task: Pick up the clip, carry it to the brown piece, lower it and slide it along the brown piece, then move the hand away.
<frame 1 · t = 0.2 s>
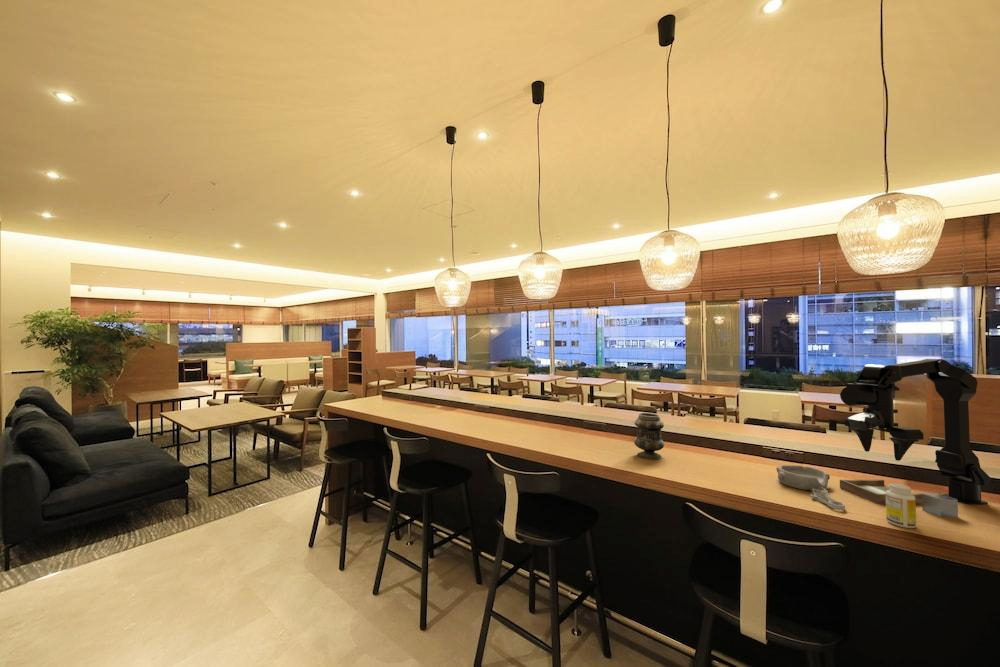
hand: (881, 455, 116), 14 cm above the table, fingers open, 9 cm apart
clip: (939, 513, 107), on the table
apothecary jar: (649, 456, 161), on the table
bracket: (826, 501, 116), on the table, touching dish
supplement bottle: (901, 524, 101), on the table
dish: (801, 485, 129), on the table, touching bracket
brown piece: (879, 495, 120), on the table
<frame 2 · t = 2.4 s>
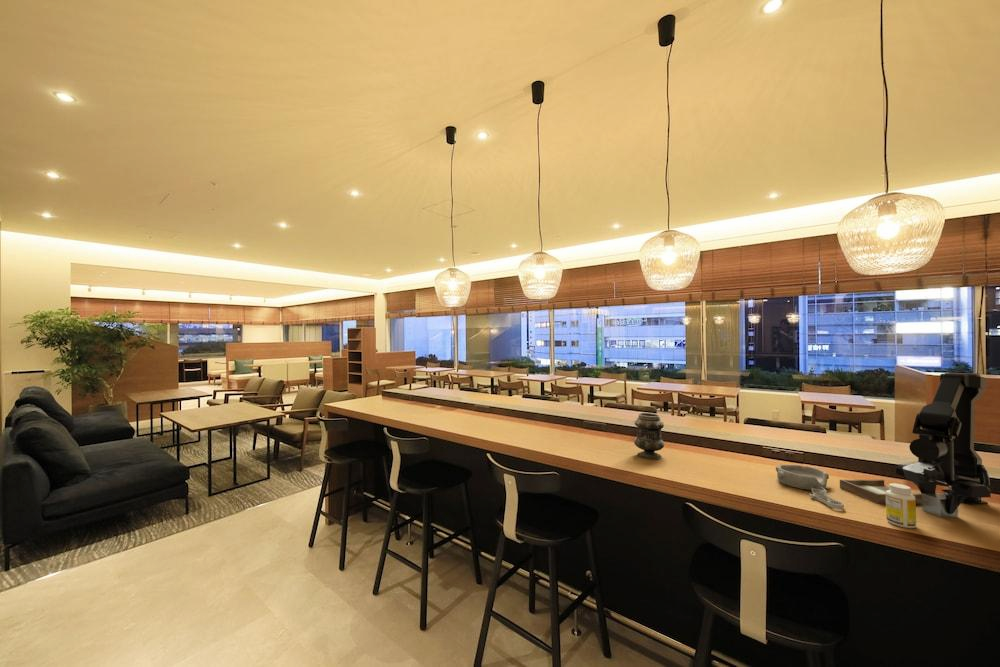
hand: (939, 509, 107), 1 cm above the table, fingers closed on clip, 4 cm apart
clip: (939, 513, 107), on the table, touching gripper
everything else where it was.
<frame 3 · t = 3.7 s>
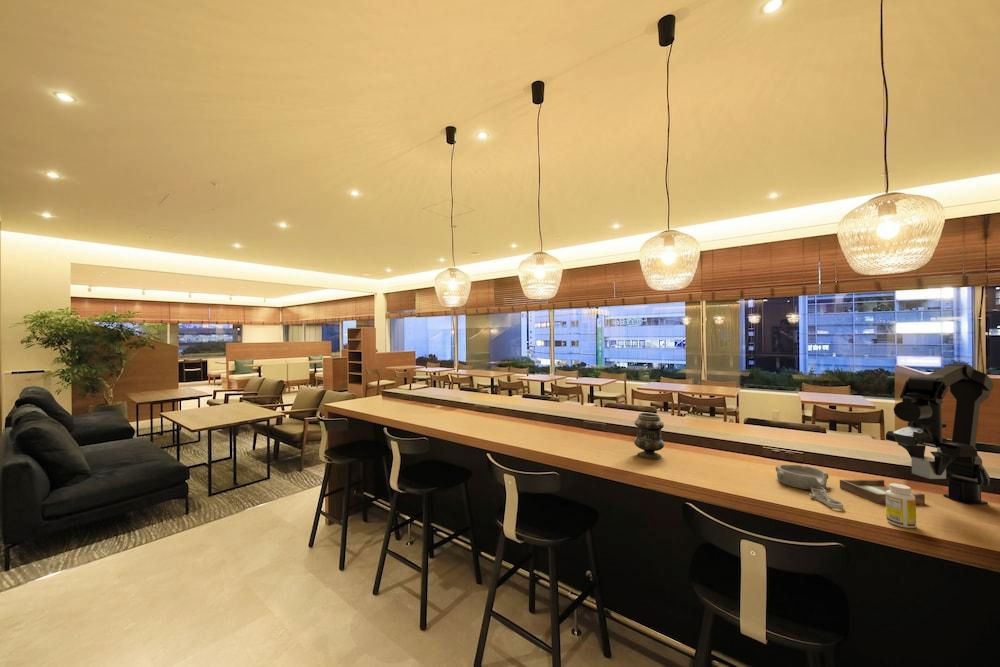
hand: (928, 472, 110), 11 cm above the table, fingers closed on clip, 4 cm apart
clip: (928, 475, 110), point 10 cm above the table, touching gripper
everything else where it was.
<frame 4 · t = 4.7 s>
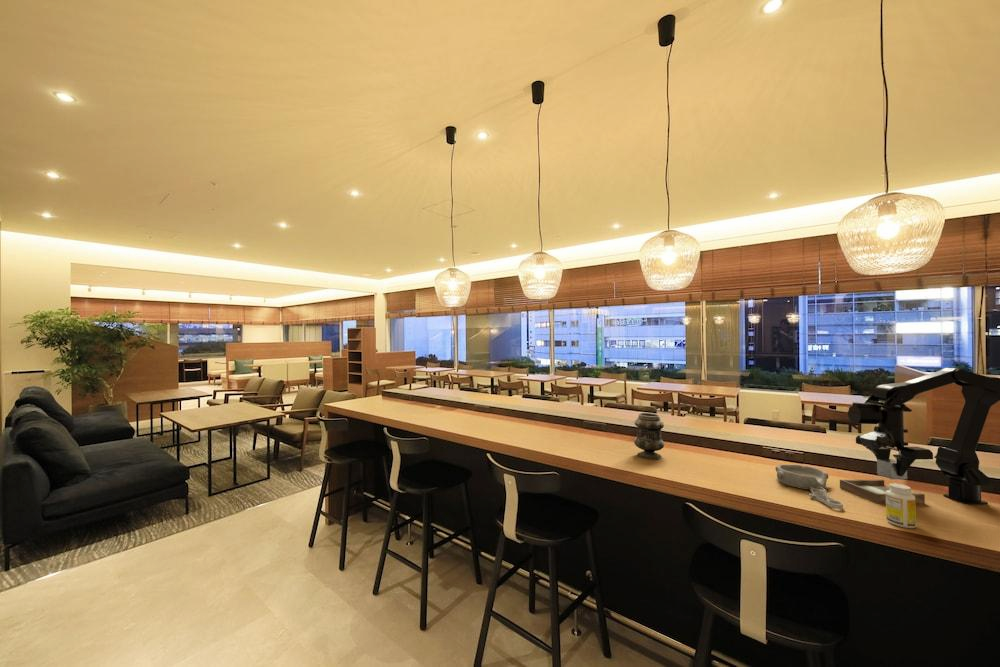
hand: (892, 473, 121), 7 cm above the table, fingers closed on clip, 4 cm apart
clip: (892, 476, 121), point 6 cm above the table, touching gripper
everything else where it was.
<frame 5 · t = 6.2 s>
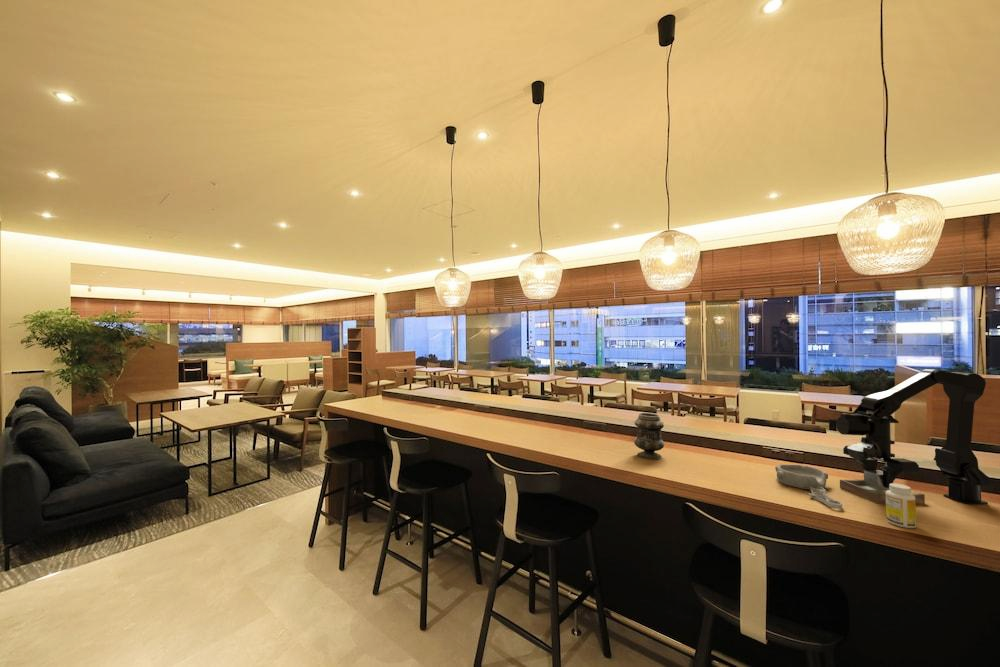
hand: (878, 484, 120), 3 cm above the table, fingers closed on clip, 4 cm apart
clip: (878, 487, 120), point 2 cm above the table, touching gripper
everything else where it was.
when the fingers open (3 cm above the table, at t = 7.2 s): clip stays where it is, resting on brown piece.
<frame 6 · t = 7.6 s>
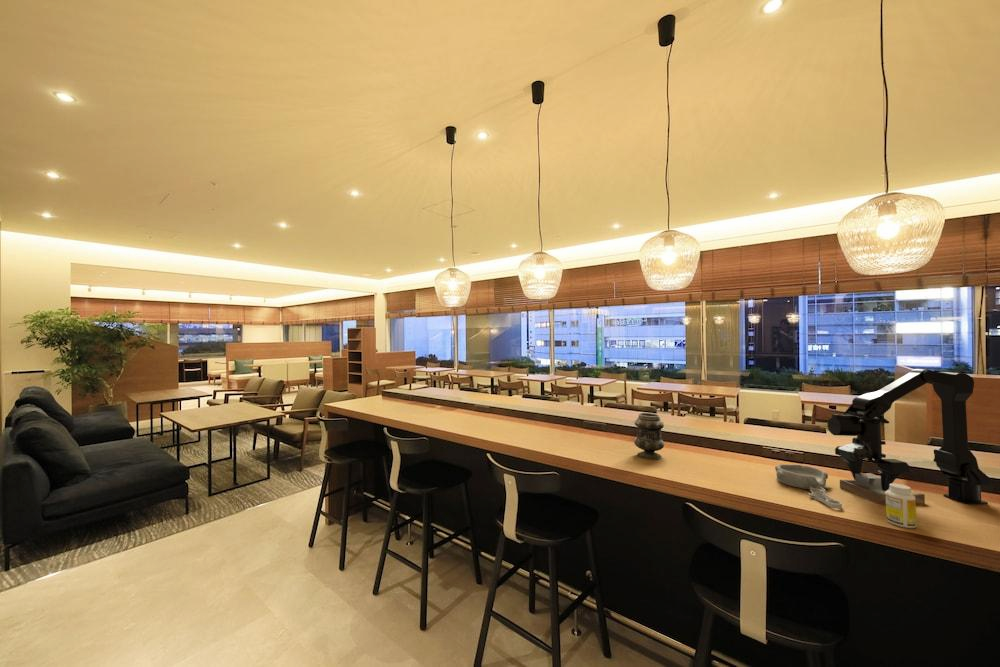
hand: (870, 485, 120), 3 cm above the table, fingers open, 9 cm apart
clip: (870, 491, 120), point 1 cm above the table, touching brown piece
everything else where it was.
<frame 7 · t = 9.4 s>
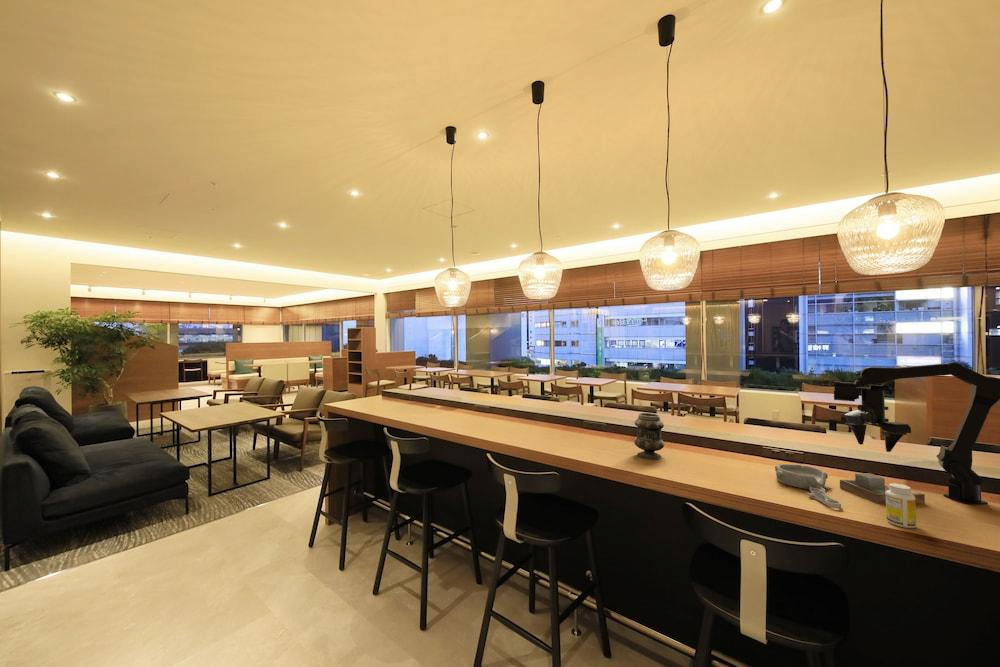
hand: (874, 447, 130), 12 cm above the table, fingers open, 9 cm apart
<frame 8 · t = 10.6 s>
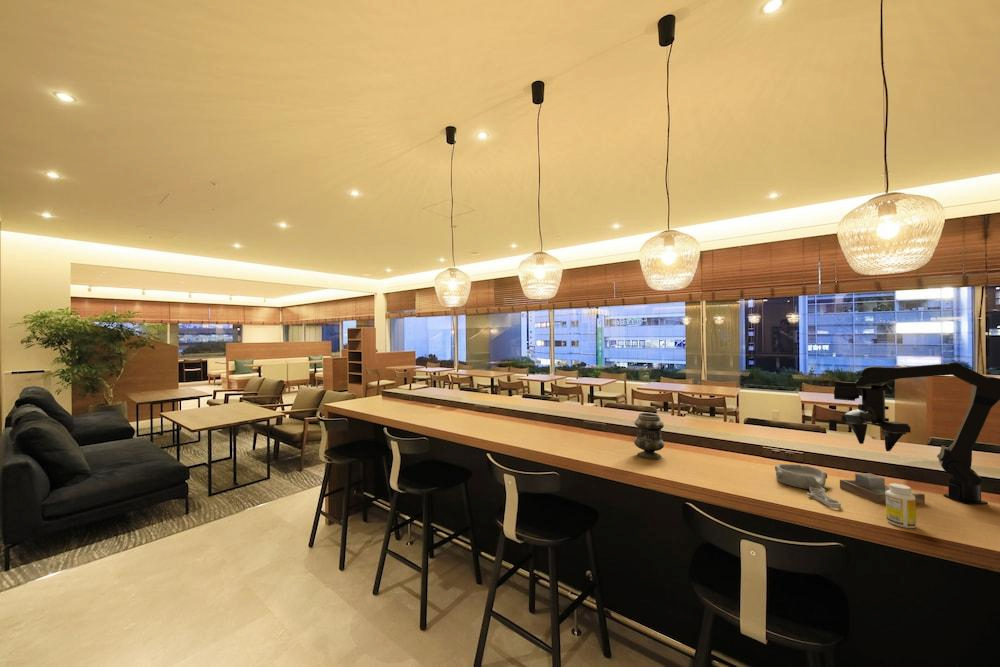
hand: (874, 447, 131), 13 cm above the table, fingers open, 9 cm apart
at the end: clip inside the target area on the brown piece (0.9 cm from its centre), point 1.2 cm above the brown piece's base; clip tilted 0°; the gripper is holding nothing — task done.
